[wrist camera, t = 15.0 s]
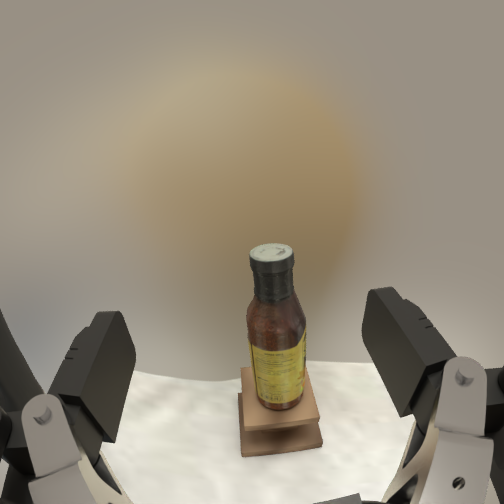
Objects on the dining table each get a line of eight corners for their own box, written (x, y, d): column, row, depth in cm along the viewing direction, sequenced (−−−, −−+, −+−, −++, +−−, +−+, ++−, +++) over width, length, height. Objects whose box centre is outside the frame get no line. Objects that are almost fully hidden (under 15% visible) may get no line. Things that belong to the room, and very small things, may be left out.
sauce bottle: (313, 399, 34) (325, 257, 25) (269, 420, 32) (260, 277, 23) (287, 368, 39) (285, 233, 31) (245, 385, 37) (228, 247, 29)
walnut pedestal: (242, 457, 34) (236, 430, 31) (238, 398, 44) (233, 365, 40) (321, 446, 34) (328, 418, 31) (307, 390, 44) (310, 357, 41)
